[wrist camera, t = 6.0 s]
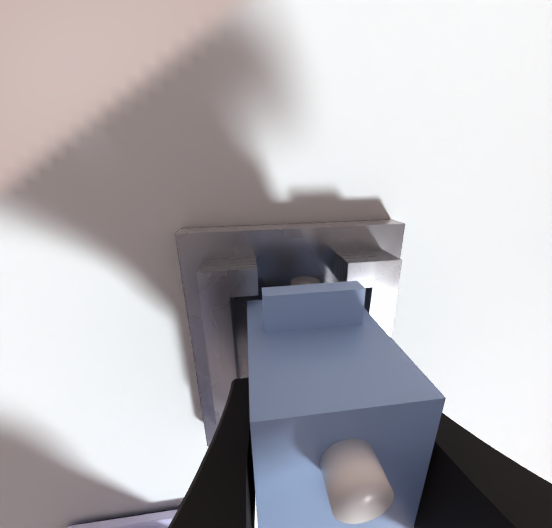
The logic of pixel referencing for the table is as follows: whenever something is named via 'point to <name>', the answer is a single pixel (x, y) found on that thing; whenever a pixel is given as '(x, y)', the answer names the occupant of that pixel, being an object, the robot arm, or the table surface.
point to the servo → (334, 412)
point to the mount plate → (273, 285)
